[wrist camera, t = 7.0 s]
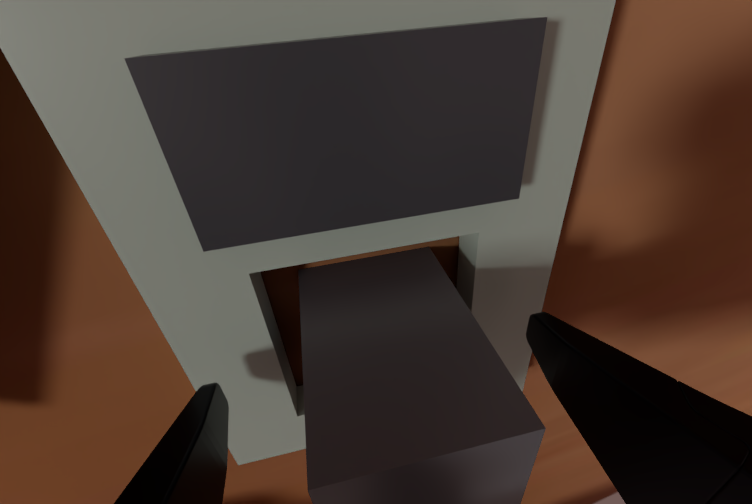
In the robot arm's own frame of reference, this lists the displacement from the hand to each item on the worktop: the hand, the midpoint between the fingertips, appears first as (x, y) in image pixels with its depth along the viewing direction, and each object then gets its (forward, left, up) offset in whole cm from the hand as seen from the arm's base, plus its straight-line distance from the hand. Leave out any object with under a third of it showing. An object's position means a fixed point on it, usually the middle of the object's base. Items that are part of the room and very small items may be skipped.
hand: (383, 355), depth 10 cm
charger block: (0, 0, -2) cm, 2 cm away
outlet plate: (+2, 0, -2) cm, 3 cm away
